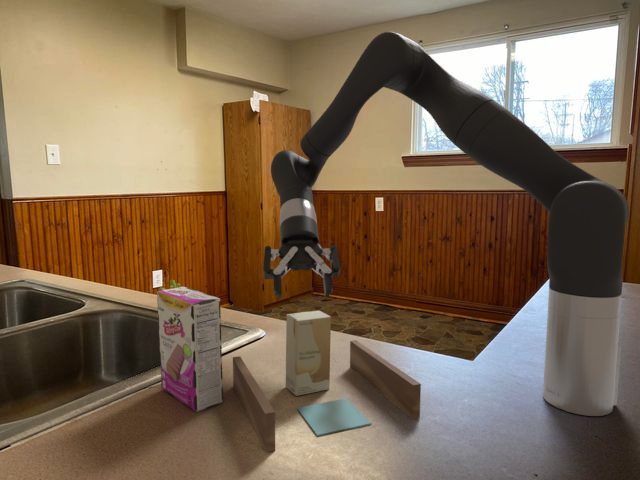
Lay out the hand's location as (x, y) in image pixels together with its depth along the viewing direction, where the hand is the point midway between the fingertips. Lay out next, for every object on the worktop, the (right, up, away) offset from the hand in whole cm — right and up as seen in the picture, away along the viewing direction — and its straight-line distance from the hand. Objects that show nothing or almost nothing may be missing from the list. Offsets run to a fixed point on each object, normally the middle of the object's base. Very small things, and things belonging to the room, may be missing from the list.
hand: (303, 295), depth 80 cm
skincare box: (+1, -14, -7) cm, 16 cm away
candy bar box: (-17, -15, -10) cm, 25 cm away
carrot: (-25, -13, +6) cm, 29 cm away
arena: (+3, -15, -12) cm, 19 cm away
